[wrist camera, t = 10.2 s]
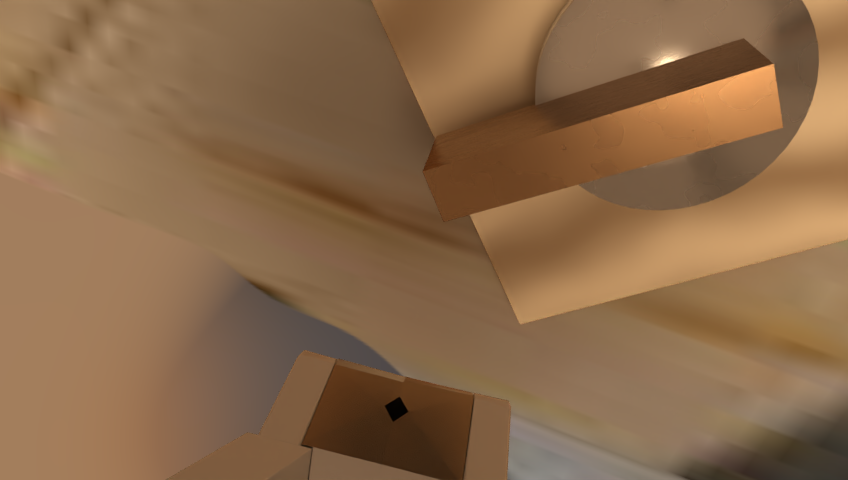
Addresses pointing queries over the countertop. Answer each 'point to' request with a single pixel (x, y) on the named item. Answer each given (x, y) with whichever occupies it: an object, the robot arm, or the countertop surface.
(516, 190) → the dial
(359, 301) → the countertop surface
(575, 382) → the countertop surface
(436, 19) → the dial plate
